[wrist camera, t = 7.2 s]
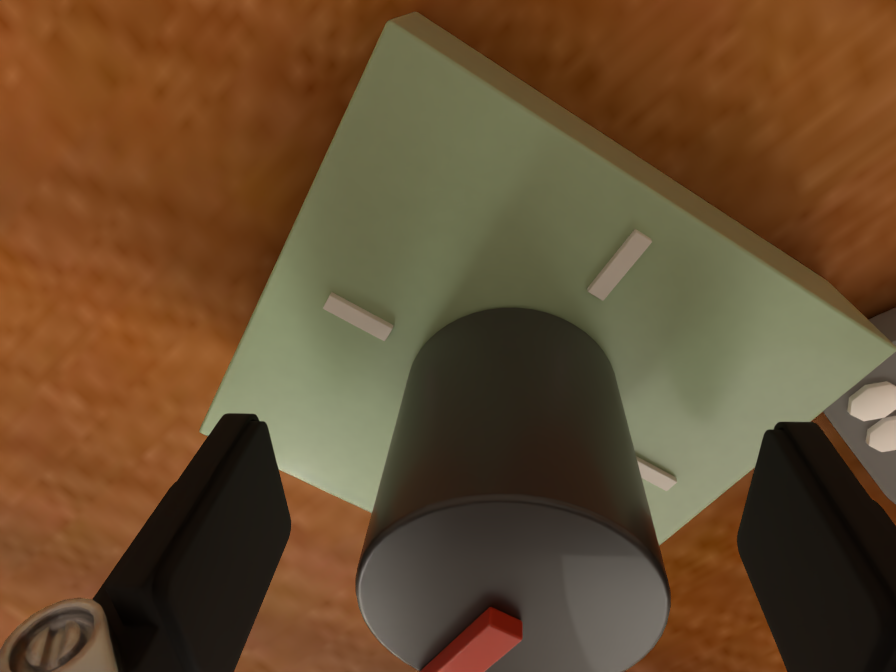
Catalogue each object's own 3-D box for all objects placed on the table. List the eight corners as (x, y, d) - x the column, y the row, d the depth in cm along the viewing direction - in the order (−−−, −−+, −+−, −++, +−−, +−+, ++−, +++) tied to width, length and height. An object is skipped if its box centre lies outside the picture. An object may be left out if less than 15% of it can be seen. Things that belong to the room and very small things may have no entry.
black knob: (476, 265, 11) (451, 461, 7) (662, 373, 12) (753, 614, 7) (372, 418, 13) (299, 645, 9) (536, 502, 14) (547, 749, 10)
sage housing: (828, 281, 14) (905, 354, 11) (571, 525, 19) (580, 617, 16) (415, 9, 12) (385, 18, 9) (246, 363, 17) (193, 437, 14)
